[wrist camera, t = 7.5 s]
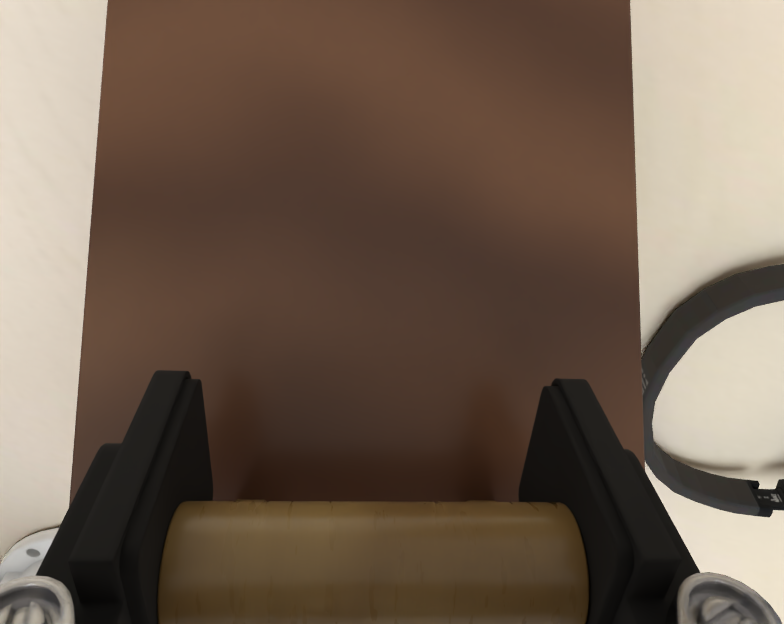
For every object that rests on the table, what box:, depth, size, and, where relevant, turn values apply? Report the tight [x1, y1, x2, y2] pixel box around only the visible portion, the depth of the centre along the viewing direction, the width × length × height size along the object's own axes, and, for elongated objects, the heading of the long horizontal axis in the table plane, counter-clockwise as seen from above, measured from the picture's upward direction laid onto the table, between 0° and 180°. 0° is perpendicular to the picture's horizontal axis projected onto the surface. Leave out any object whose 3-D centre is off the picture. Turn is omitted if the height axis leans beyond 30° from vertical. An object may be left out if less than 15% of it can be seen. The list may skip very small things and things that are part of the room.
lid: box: [69, 0, 645, 624], centre depth 12 cm, size 16×13×6 cm
